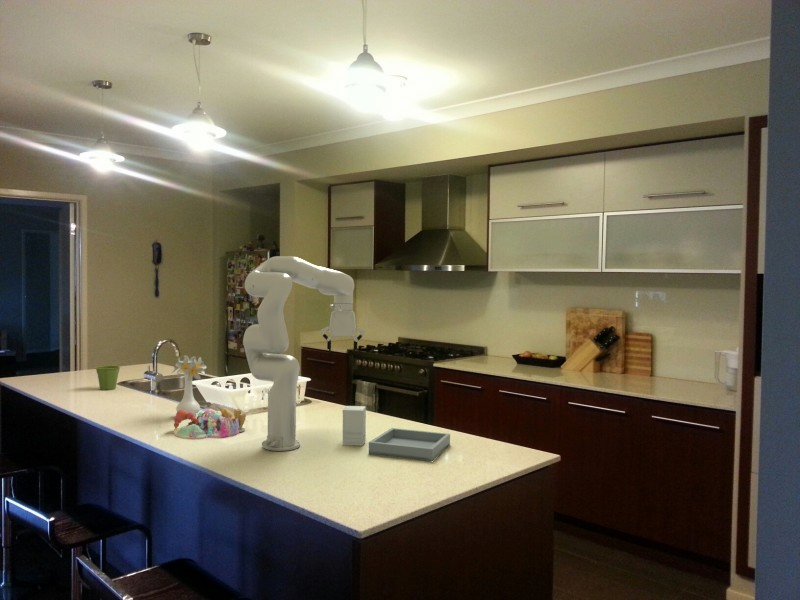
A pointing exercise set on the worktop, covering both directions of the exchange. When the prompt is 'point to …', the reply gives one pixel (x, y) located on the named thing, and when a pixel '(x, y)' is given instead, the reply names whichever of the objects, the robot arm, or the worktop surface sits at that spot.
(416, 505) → the worktop surface
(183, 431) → the candy landscape model
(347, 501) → the worktop surface
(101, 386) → the plant pot
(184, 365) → the flower vase
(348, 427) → the supplement box
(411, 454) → the tray
